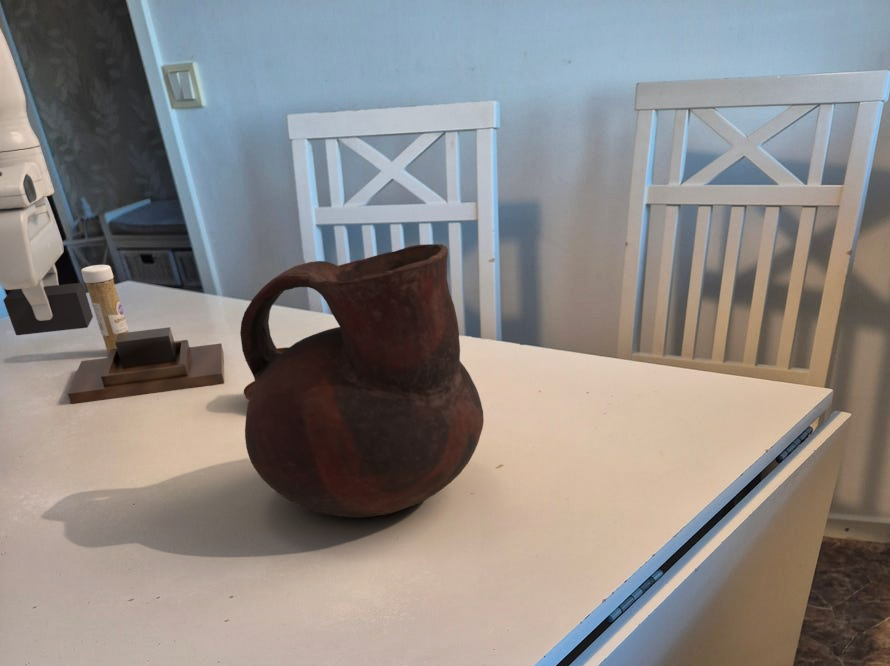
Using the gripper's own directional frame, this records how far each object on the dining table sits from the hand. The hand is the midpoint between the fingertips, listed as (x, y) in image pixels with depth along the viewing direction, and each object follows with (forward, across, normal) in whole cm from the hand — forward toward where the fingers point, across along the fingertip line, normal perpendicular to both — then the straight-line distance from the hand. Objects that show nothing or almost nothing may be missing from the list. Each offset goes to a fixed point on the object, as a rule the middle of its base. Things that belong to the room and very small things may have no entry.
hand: (50, 311), depth 99 cm
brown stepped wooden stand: (+17, -26, +5) cm, 31 cm away
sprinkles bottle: (+17, -42, -1) cm, 45 cm away
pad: (+2, 0, 0) cm, 2 cm away
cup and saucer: (+17, -7, +26) cm, 31 cm away
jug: (+17, +27, +33) cm, 46 cm away
